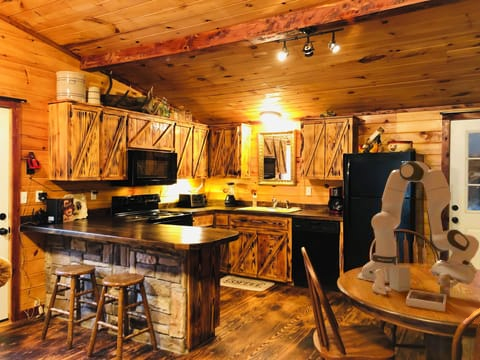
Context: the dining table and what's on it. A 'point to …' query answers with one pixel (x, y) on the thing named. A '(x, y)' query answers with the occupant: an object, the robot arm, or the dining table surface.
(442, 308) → the open box
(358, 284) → the dining table surface
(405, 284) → the supplement box
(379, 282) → the seated beast figurine
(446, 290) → the birch peg
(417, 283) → the dining table surface
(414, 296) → the bore plate
